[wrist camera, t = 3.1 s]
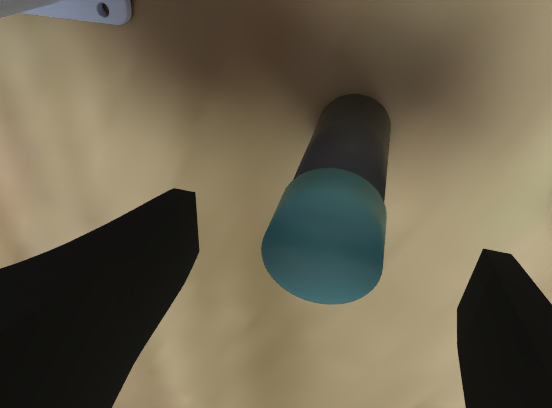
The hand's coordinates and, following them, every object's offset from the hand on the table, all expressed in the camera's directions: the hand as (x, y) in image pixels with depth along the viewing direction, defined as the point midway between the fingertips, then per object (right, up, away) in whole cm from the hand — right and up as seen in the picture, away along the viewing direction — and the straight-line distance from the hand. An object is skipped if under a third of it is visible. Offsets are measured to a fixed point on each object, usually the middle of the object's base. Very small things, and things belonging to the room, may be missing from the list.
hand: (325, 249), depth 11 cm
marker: (+2, +4, +6) cm, 8 cm away
